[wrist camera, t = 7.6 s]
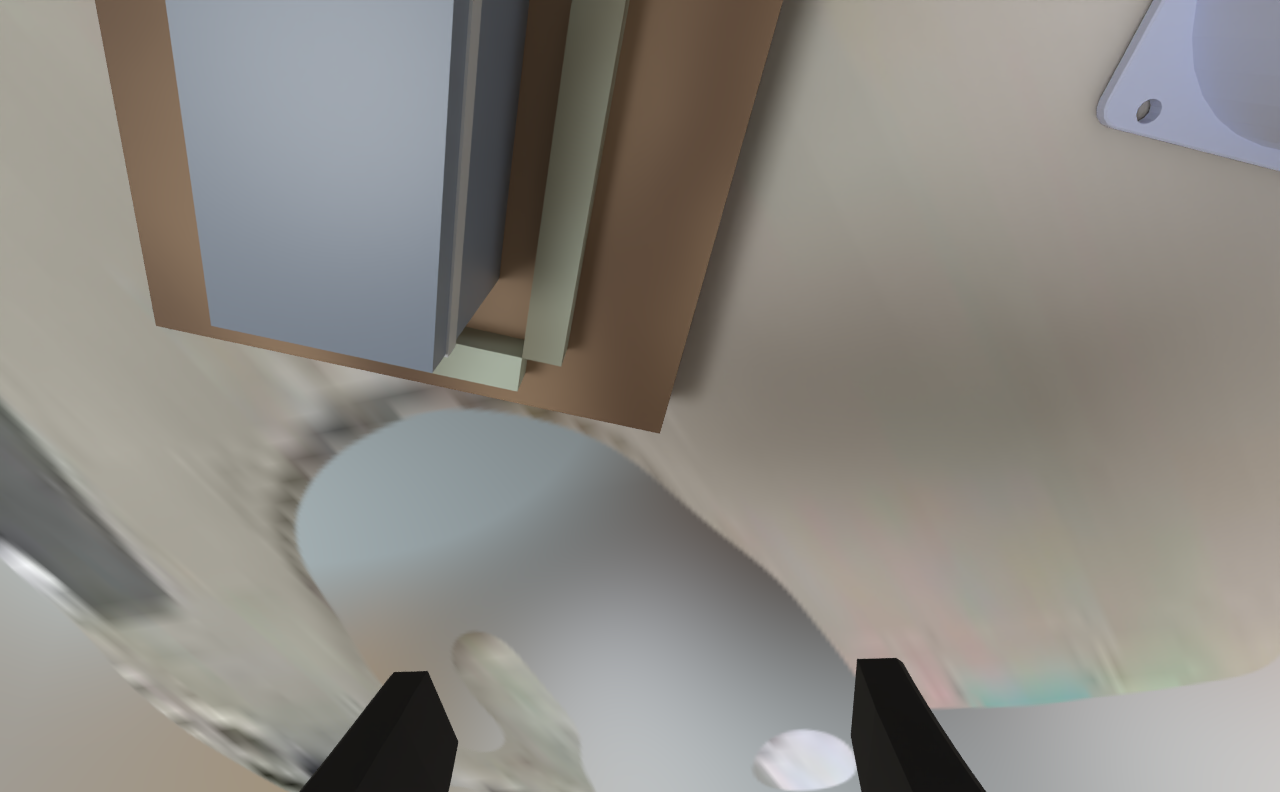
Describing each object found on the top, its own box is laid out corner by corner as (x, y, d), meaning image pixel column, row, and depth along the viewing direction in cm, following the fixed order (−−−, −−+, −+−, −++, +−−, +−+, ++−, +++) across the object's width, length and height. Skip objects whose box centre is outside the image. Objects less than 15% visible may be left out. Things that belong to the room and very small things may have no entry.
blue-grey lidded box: (544, -120, 12) (469, -198, 8) (500, 281, 16) (434, 375, 12) (325, -177, 12) (120, -293, 7) (337, 244, 16) (208, 327, 11)
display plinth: (822, -186, 13) (859, -238, 10) (661, 397, 20) (658, 453, 17) (106, -387, 12) (-54, -501, 9) (203, 298, 19) (128, 341, 16)
